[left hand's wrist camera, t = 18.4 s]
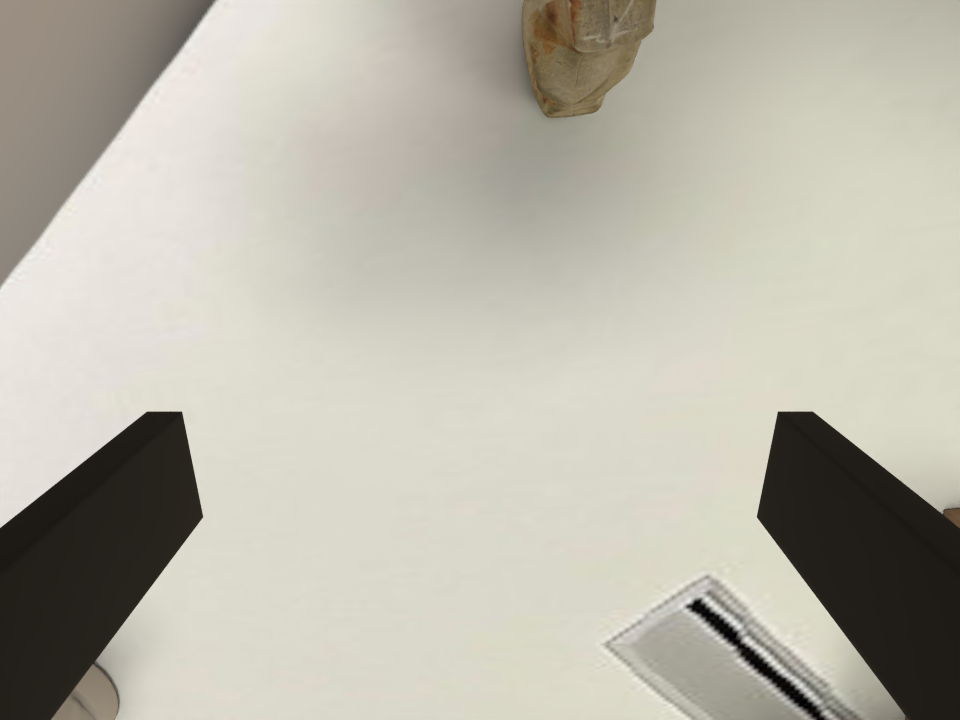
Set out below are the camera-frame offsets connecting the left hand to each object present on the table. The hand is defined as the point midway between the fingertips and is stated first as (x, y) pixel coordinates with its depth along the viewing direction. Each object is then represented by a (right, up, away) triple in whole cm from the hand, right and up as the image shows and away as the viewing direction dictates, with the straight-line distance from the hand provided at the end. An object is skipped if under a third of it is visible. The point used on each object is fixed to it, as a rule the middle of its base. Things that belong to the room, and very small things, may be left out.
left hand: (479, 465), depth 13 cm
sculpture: (+5, +21, +23) cm, 32 cm away
